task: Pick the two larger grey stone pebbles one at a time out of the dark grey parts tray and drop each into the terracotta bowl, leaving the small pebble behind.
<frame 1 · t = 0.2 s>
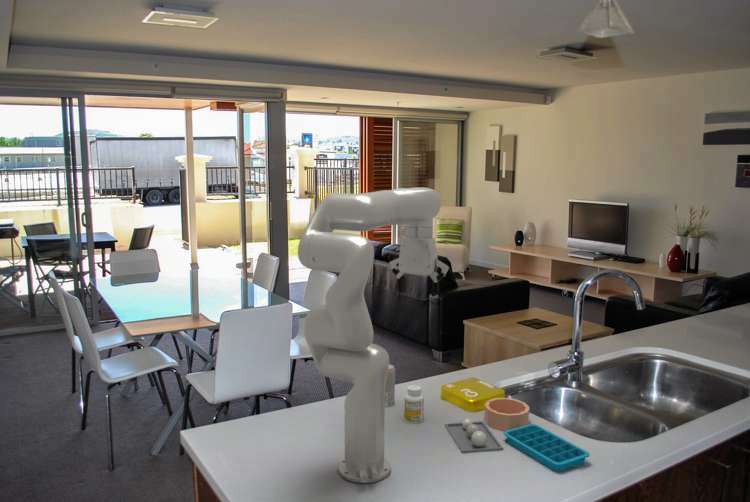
hand: (418, 293, 171), 37 cm above the counter, tool pointing down, fingers open, 9 cm apart
pebble a: (478, 446, 160), resting on parts tray
pebble b: (472, 437, 165), resting on parts tray
ice cube tray: (544, 454, 158), on the counter
bowl: (506, 422, 175), on the counter
parts tray: (472, 438, 165), on the counter
element tile: (472, 402, 191), on the counter
supplement bottle: (413, 420, 177), on the counter
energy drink: (385, 404, 187), on the counter
pebble c: (467, 429, 170), resting on parts tray
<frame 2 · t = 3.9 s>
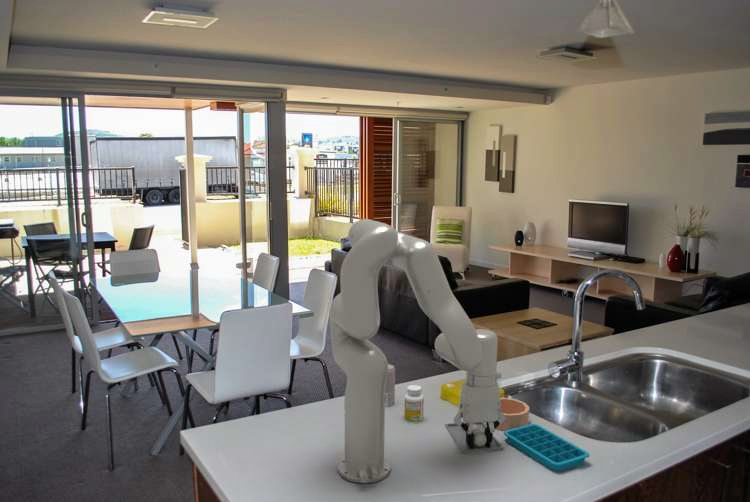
hand: (478, 444, 160), 1 cm above the counter, tool pointing down, fingers closed on pebble a, 3 cm apart
pebble a: (478, 446, 160), resting on parts tray, touching gripper
everything else where it was.
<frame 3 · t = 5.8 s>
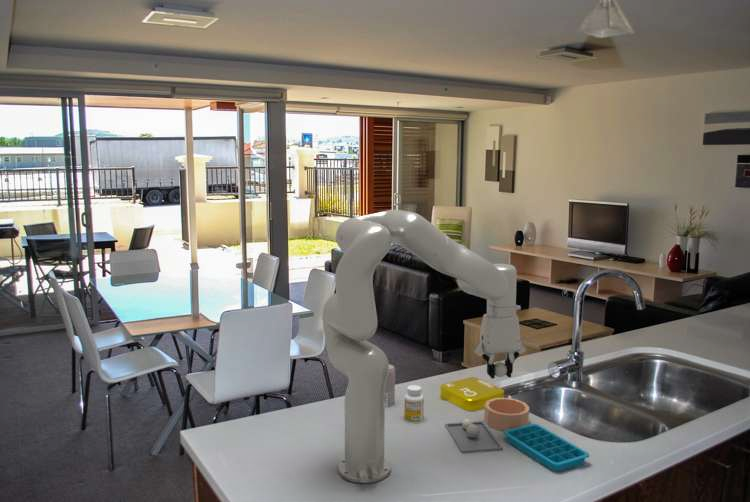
hand: (499, 375, 167), 16 cm above the counter, tool pointing down, fingers closed on pebble a, 3 cm apart
pebble a: (499, 376, 167), point 16 cm above the counter, touching gripper
everything else where it was.
when the fingers open (6 cm above the counter, at t = 7.9 s): pebble a drops 5 cm, resting on bowl.
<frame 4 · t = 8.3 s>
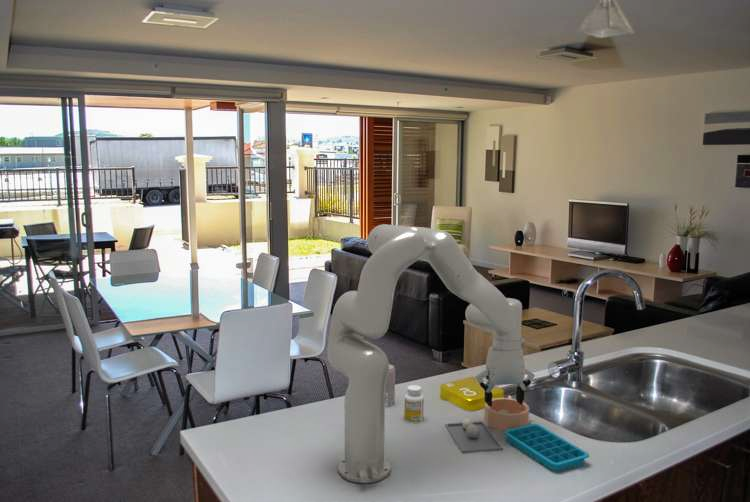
hand: (504, 403, 172), 7 cm above the counter, tool pointing down, fingers open, 8 cm apart
pebble a: (503, 423, 173), point 1 cm above the counter, touching bowl
everything else where it was.
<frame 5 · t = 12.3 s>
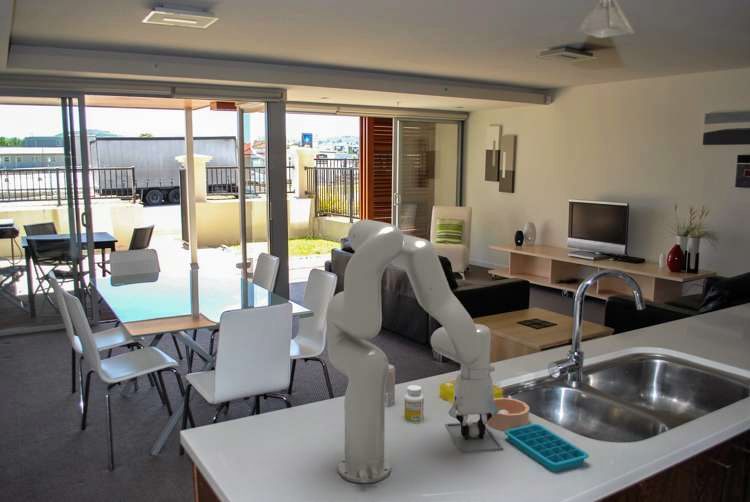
hand: (472, 436, 165), 1 cm above the counter, tool pointing down, fingers closed on pebble b, 3 cm apart
pebble b: (472, 437, 165), resting on parts tray, touching gripper
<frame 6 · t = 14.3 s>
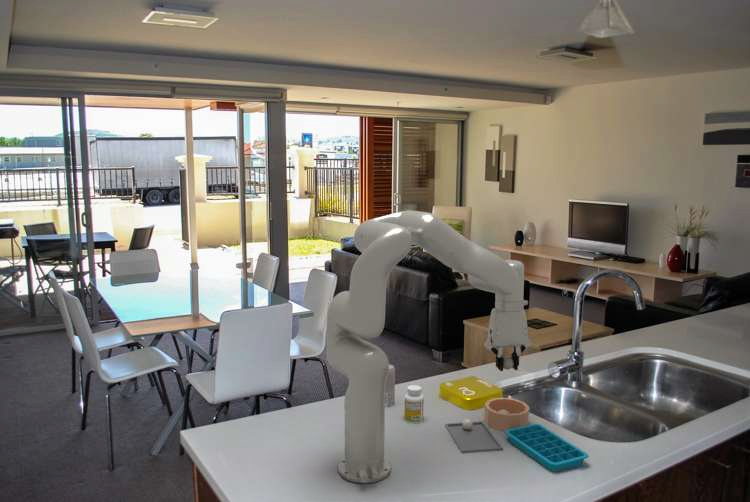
hand: (507, 368, 172), 16 cm above the counter, tool pointing down, fingers closed on pebble b, 3 cm apart
pebble b: (507, 369, 172), point 16 cm above the counter, touching gripper
when the fingers open (6 cm above the counter, at t = 16.3 s): pebble b drops 5 cm, resting on bowl.
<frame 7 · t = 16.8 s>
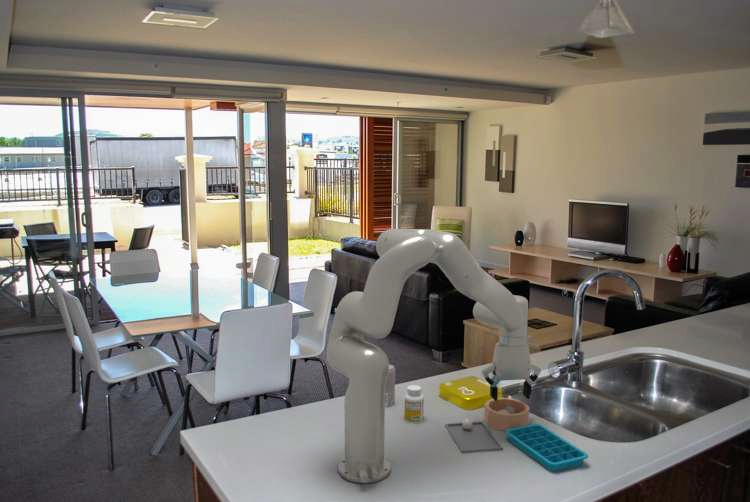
hand: (510, 397, 175), 7 cm above the counter, tool pointing down, fingers open, 9 cm apart
pebble b: (509, 418, 176), point 1 cm above the counter, touching bowl
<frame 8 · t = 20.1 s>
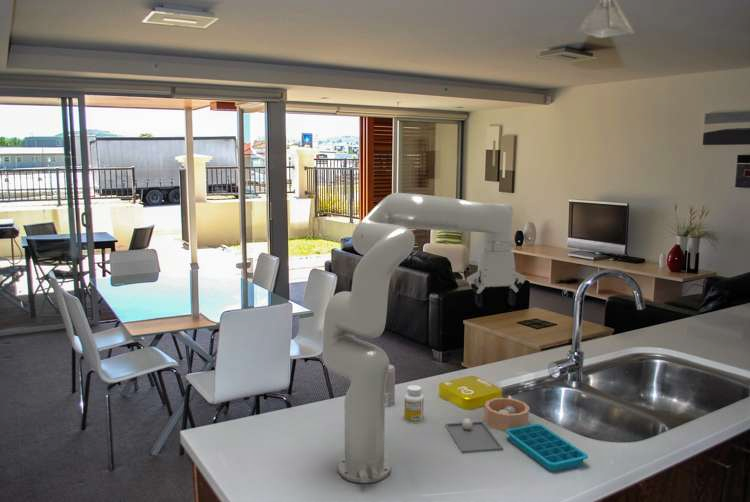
hand: (495, 305, 177), 32 cm above the counter, tool pointing down, fingers open, 9 cm apart
at the end: pebble a inside the target area on the bowl (2.2 cm from its centre), point 0.6 cm above the bowl's base; pebble b inside the target area on the bowl (2.1 cm from its centre), point 0.6 cm above the bowl's base; the gripper is holding nothing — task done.
